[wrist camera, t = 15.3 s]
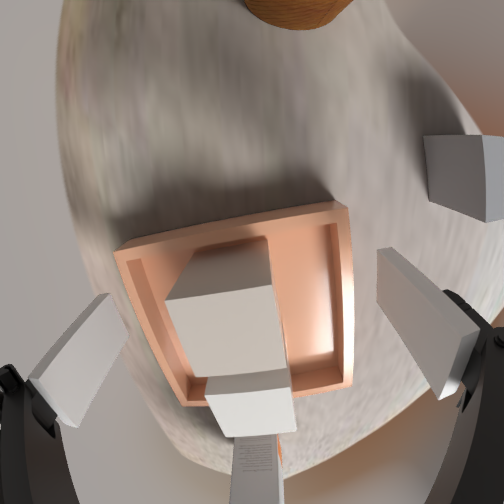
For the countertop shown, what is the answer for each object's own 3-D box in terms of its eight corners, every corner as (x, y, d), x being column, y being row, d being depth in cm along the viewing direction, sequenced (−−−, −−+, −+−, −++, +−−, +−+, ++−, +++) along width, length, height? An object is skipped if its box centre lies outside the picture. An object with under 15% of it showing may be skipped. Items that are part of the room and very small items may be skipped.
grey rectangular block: (422, 135, 14) (481, 134, 9) (466, 136, 14) (523, 139, 8) (428, 201, 16) (485, 222, 10) (470, 195, 15) (525, 214, 10)
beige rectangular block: (194, 252, 17) (164, 300, 11) (267, 239, 16) (272, 284, 11) (212, 314, 18) (195, 377, 12) (279, 304, 18) (286, 367, 12)
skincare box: (282, 446, 25) (286, 537, 14) (244, 449, 25) (240, 538, 14) (277, 419, 23) (281, 528, 12) (234, 422, 23) (224, 529, 12)
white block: (217, 331, 19) (204, 395, 13) (282, 322, 18) (290, 386, 12) (232, 375, 20) (225, 437, 14) (289, 368, 20) (297, 430, 14)
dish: (129, 239, 17) (112, 252, 15) (335, 199, 16) (347, 207, 14) (187, 385, 21) (182, 406, 19) (344, 365, 20) (351, 386, 18)
